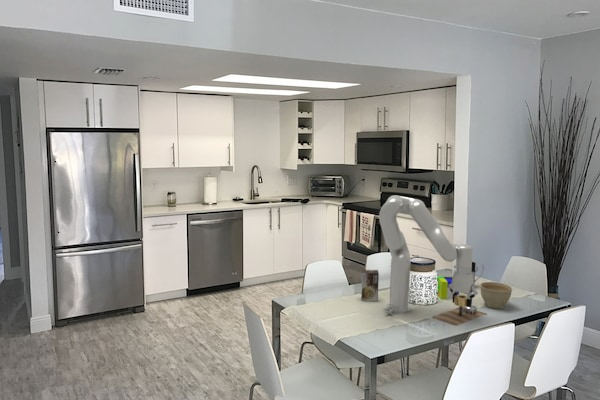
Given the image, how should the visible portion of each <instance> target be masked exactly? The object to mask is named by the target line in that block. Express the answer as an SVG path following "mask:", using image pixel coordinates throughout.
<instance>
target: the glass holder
mask: <svg viewBox="0 0 600 400" xmlns="http://www.w3.org/2000/svg"><path fill="white" fill-rule="evenodd" d="M479 266H482V271H481V273H480V275H479V276H478V277H477V278H476V272H478V269H479ZM484 267H485V266H484V265H483V264H481V263H479V264H478V265H477V266H476V262H474V261H472V271H471V273H472V274H473V283H474V288H475V289H476V286H475V285H476V284H475V283H476V282H477V281H478V280H479V279H480V278H481V277H482V276H483V274H484V270H485V268H484Z"/></svg>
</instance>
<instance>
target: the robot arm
mask: <svg viewBox="0 0 600 400" xmlns="http://www.w3.org/2000/svg"><path fill="white" fill-rule="evenodd" d="M399 213H403V214H407V215H410V217H411V218H412V219H413V221H414V222H415V223H416V224H417V226H418V227H419V228H420V230H421V231H422V233H423V234H424V235H425V237H426V239H428V241H429V242H430V244H432V246H433V249H435V250H436V252H437V253H438V254H439V256H440V257H441V259H442V260H444V261H445V262H448V263H450V262H454V261H455V265H453V268H454V271H453V274H452V276H451V277H452V283H451V284H449V285H448V287H449V289H450V291H451V292H452V295H453V299H452V303H453V304H454V298H455V295H458V294H457V292H459V294H460V293H461V294H462V295H466V296H467V297H468V299H467V307H469V306H471V305H473V298H475V297H476V296H477V295H479V292H478V291H477V290H476V287H475V288H474V283H473V274H472V273H471V271H472V262H473V246H472V245H469V244H456V243H451V242H450V241H449V239H448V238H447V236H446V235H445V233H444V231H443V230H442V229H443V228H442V227H441V225H440V223H439V222H438V221H437V220H436V218H435V217H434V216H433V215H432V213H431V211H429V209H428V208H427V206H426V205H425V202H424V201H422V200H421V199H418V198H412V197H407V196H403V195H402V196H401V195H397V194H395V195H390V196H389V197H388V198H387V199H386V201H385V203H384V204H383V205H382V206H381V208H380V210H379V213H378V218H379V224H380V228H381V231H382V235H383V237H384V241H385V242H384V243H385V246H386V247H387V248H388V250H389V253H390V257H391V260H390V280H389V281H390V282H389V283H390V284H389V285H390V286H389V303H388V304H387V305H388V306H385V307H384V308H383V312H384V313H388V314H389V315H390V316H396V315H400V314H404V313H408V311H410V310H411V309H410V308H409V297H410V280H411V279H410V278H411V277H410V275H411V262H412V261H411V254H410V251H409V248H408V244H407V242H406V238H405V235H404V233H403V232H402V230H400V226H399V223H398V220H397V216H398V214H399Z"/></svg>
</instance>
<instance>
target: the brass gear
mask: <svg viewBox="0 0 600 400" xmlns="http://www.w3.org/2000/svg"><path fill="white" fill-rule="evenodd" d="M467 299H468V297H467V295H466V294H459V295H455V298H454V303H453V304H454V305H455V306H457V307H461V306H462V307H467Z"/></svg>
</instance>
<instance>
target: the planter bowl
mask: <svg viewBox="0 0 600 400" xmlns="http://www.w3.org/2000/svg"><path fill="white" fill-rule="evenodd" d="M479 286H480V295H481V299H482V300H483V301H484V304H485V306H486V307H488V308H492V309H504V308H505V305H507V303H508V302H509V300H510V298H511V295H512V291H513V287H512V286H510V285H508V284H505V283H502V282H496V281H495V282H494V281H484V282H481V283H480V285H479Z"/></svg>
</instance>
